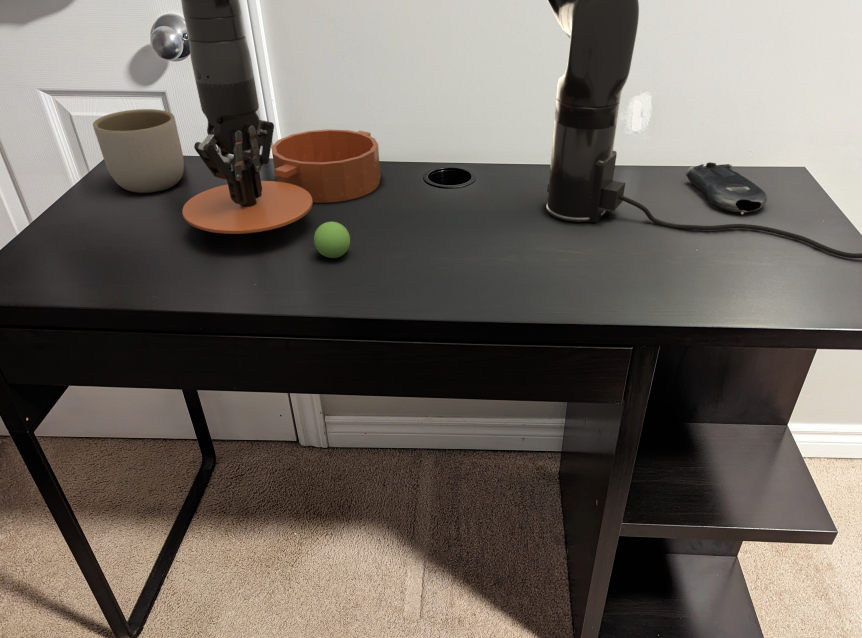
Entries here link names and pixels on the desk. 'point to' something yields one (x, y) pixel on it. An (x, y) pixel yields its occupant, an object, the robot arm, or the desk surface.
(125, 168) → the planter
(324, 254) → the ball
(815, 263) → the desk surface
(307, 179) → the pan
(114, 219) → the desk surface
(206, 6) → the robot arm
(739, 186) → the electronic device
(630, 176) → the desk surface
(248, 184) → the lid
